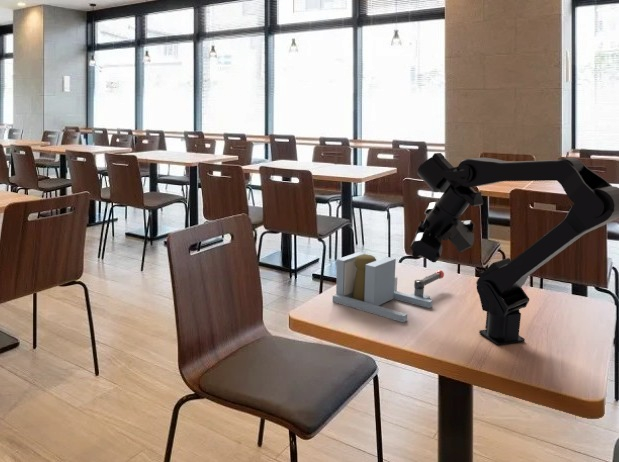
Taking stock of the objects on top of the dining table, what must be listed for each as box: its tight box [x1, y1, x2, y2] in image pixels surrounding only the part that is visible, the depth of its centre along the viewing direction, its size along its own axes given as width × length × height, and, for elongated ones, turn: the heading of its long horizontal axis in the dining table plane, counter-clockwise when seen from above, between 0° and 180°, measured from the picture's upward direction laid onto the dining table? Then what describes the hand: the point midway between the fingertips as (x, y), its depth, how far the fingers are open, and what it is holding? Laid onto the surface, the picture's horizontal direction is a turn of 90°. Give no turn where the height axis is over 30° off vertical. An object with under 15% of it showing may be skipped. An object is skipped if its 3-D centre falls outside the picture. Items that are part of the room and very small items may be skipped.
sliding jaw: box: [364, 256, 397, 306], centre depth 126 cm, size 3×9×10 cm, turn 140°
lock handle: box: [413, 269, 445, 289], centre depth 134 cm, size 13×2×2 cm, turn 139°
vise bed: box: [332, 251, 433, 323], centre depth 128 cm, size 20×18×10 cm
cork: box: [351, 254, 377, 302], centre depth 129 cm, size 6×6×11 cm
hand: (414, 255), depth 124 cm, fingers closed
